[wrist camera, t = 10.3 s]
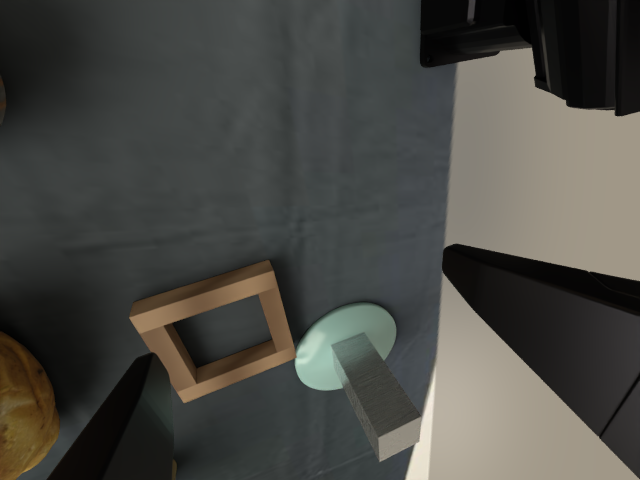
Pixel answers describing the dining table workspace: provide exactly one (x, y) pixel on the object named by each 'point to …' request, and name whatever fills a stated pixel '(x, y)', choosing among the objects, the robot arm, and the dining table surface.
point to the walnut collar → (202, 296)
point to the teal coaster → (334, 328)
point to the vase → (2, 101)
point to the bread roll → (24, 410)
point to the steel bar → (376, 396)
